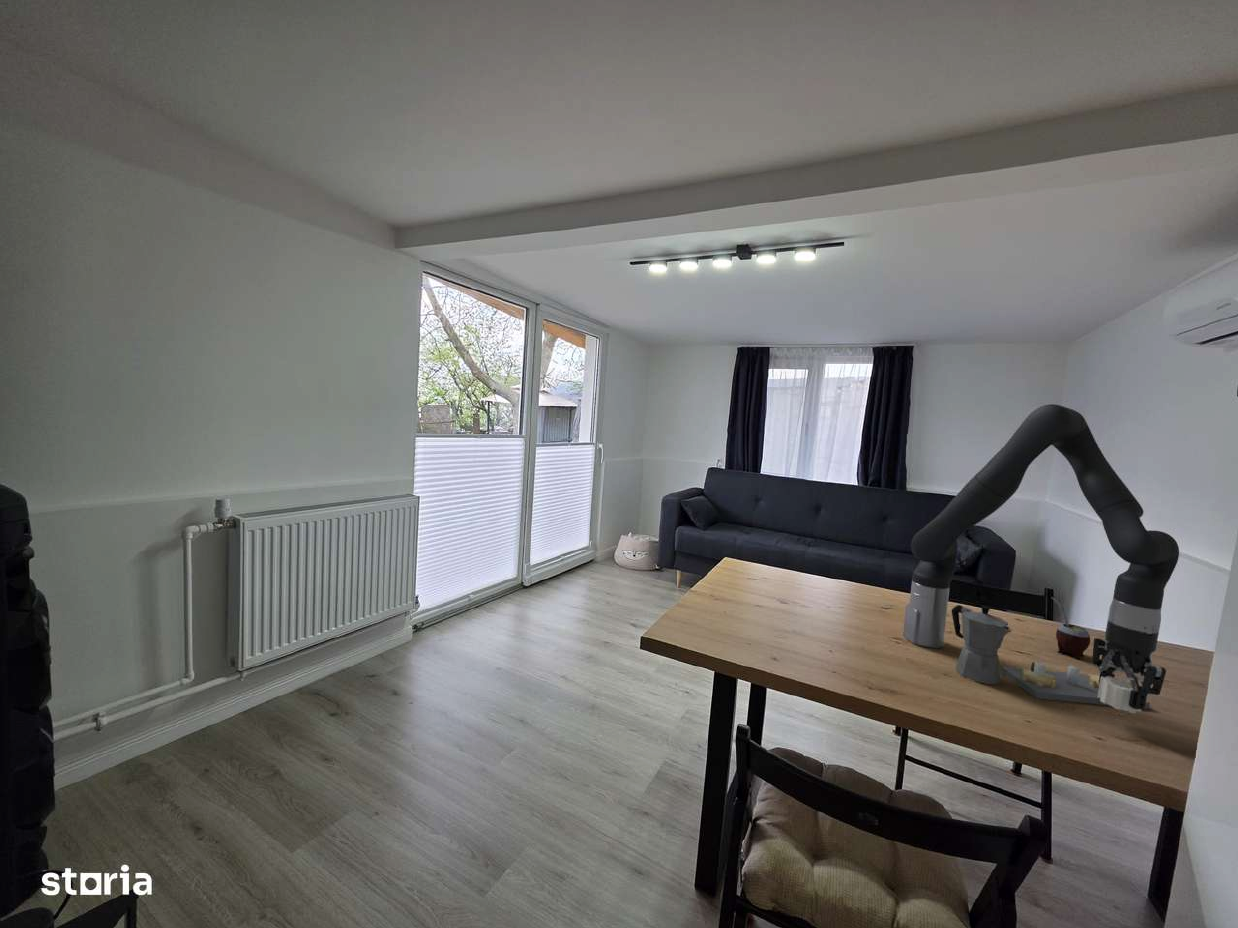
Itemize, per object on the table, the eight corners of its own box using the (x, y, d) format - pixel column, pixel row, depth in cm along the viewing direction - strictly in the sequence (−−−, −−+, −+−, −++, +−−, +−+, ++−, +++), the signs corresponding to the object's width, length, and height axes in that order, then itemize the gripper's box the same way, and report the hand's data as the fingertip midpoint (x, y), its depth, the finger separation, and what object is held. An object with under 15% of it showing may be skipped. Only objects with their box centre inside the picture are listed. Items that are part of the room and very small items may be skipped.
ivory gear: (1116, 711, 103) (1119, 690, 102) (1089, 693, 109) (1092, 674, 109) (1150, 714, 102) (1154, 694, 101) (1121, 696, 108) (1124, 677, 108)
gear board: (1036, 698, 115) (1039, 675, 114) (1001, 672, 126) (1004, 651, 126) (1148, 708, 112) (1152, 685, 112) (1102, 681, 124) (1105, 660, 124)
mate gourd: (1094, 662, 135) (1101, 609, 134) (1061, 657, 137) (1068, 605, 136) (1075, 650, 143) (1081, 599, 141) (1043, 646, 144) (1050, 596, 143)
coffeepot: (1018, 688, 119) (1027, 616, 117) (987, 691, 117) (996, 617, 115) (961, 657, 134) (968, 593, 132) (932, 659, 132) (939, 594, 130)
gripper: (1085, 608, 111) (1073, 678, 113) (1146, 636, 97) (1132, 716, 99) (1121, 612, 110) (1109, 682, 112) (1188, 640, 96) (1173, 720, 98)
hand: (1120, 698), depth 105 cm, fingers closed on ivory gear, 6 cm apart
